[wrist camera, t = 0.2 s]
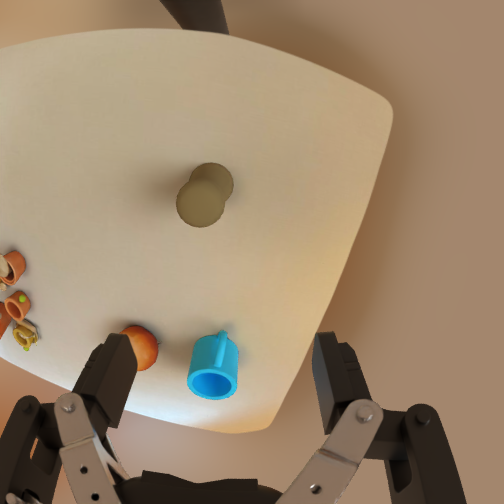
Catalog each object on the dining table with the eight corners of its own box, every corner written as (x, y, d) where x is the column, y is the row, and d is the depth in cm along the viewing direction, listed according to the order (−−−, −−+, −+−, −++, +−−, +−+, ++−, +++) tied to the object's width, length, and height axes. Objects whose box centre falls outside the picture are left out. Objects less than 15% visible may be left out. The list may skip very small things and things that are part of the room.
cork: (189, 205, 40) (169, 234, 30) (189, 162, 38) (167, 177, 28) (232, 206, 41) (227, 237, 31) (234, 163, 38) (228, 179, 28)
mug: (232, 370, 54) (230, 403, 47) (190, 361, 53) (183, 393, 46) (249, 324, 49) (249, 359, 42) (201, 313, 48) (194, 347, 41)
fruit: (153, 368, 52) (126, 382, 45) (131, 334, 54) (102, 344, 46) (177, 349, 50) (149, 363, 42) (153, 313, 51) (123, 322, 44)
